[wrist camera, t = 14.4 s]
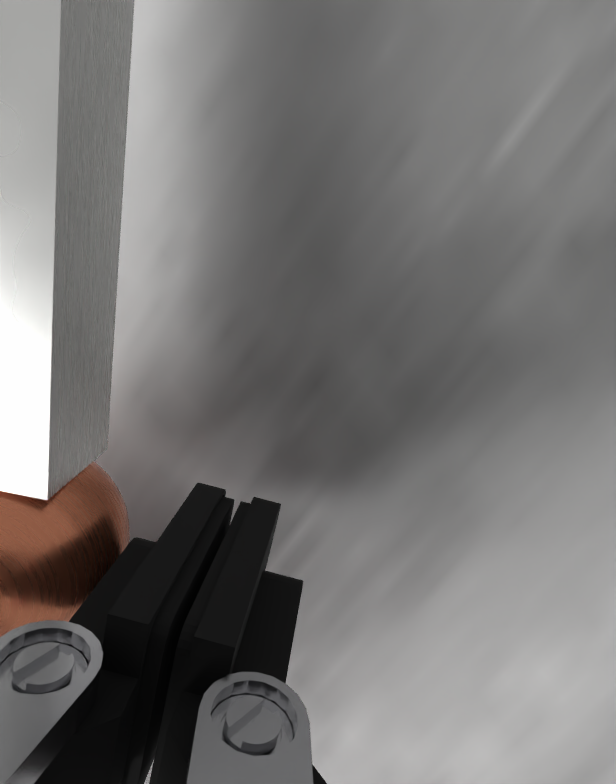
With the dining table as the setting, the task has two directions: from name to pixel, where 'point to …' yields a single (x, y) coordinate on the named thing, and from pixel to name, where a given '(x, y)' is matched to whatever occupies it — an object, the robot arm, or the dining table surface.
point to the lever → (59, 298)
